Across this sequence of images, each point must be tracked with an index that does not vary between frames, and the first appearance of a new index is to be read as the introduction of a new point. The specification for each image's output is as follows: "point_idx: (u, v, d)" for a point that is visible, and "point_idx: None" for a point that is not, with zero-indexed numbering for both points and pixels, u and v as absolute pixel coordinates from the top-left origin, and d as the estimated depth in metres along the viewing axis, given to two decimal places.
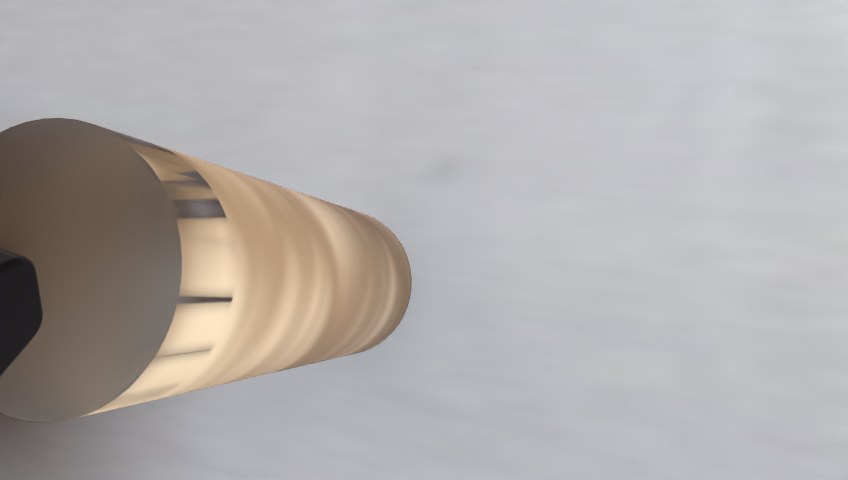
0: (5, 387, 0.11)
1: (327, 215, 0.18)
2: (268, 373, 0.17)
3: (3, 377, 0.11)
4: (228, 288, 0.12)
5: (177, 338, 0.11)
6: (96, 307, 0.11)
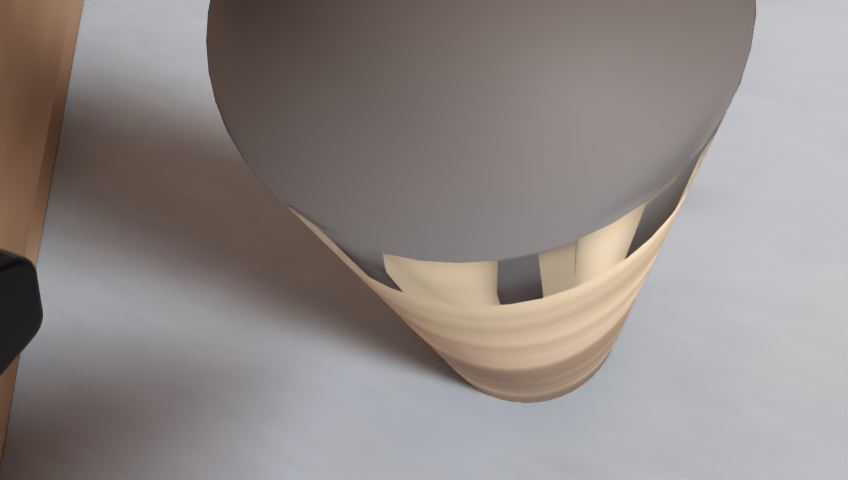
0: (342, 187, 0.06)
1: None
2: (519, 368, 0.12)
3: (344, 166, 0.06)
4: None
5: (694, 165, 0.06)
6: (564, 74, 0.06)
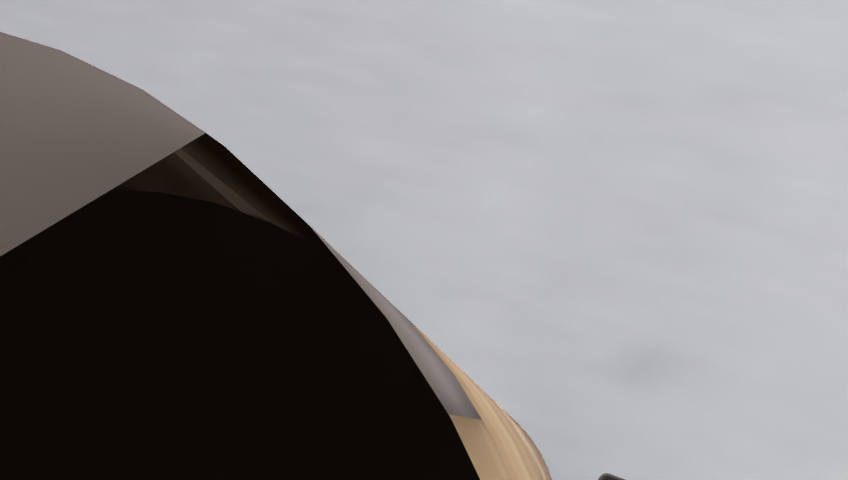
0: None
1: (528, 447, 0.09)
2: None
3: None
4: None
5: None
6: None
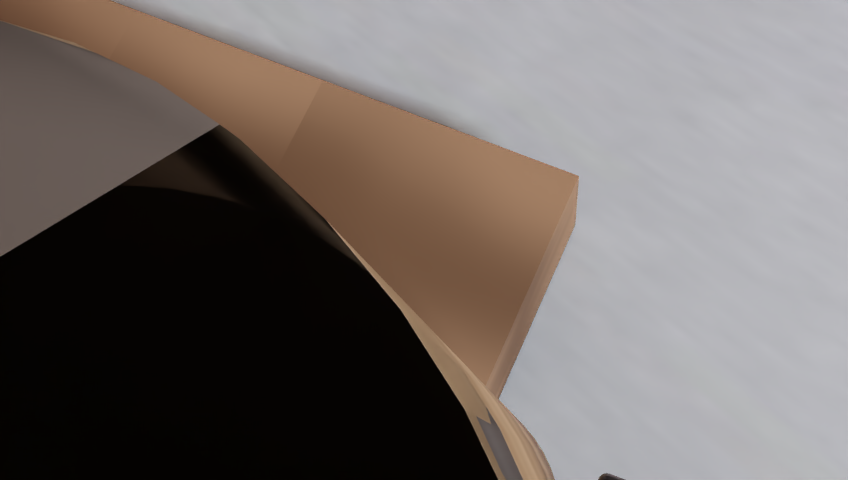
0: None
1: (532, 445, 0.09)
2: None
3: None
4: None
5: None
6: None
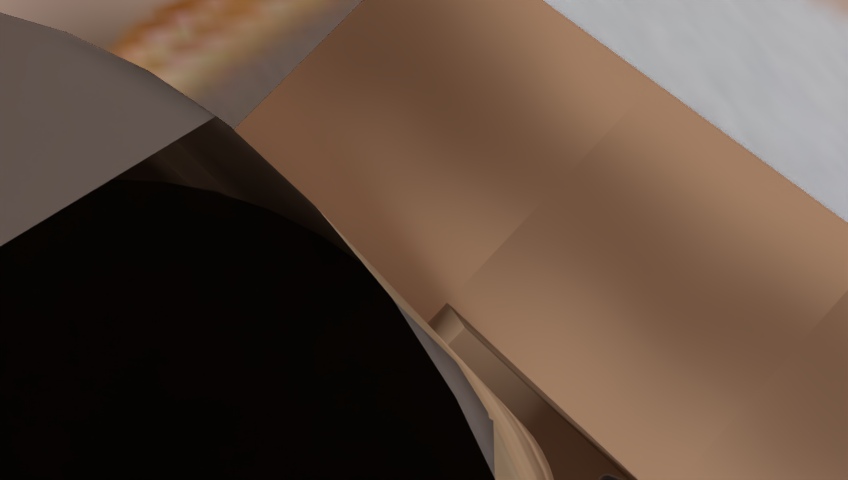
0: None
1: (530, 442, 0.09)
2: None
3: None
4: None
5: None
6: None
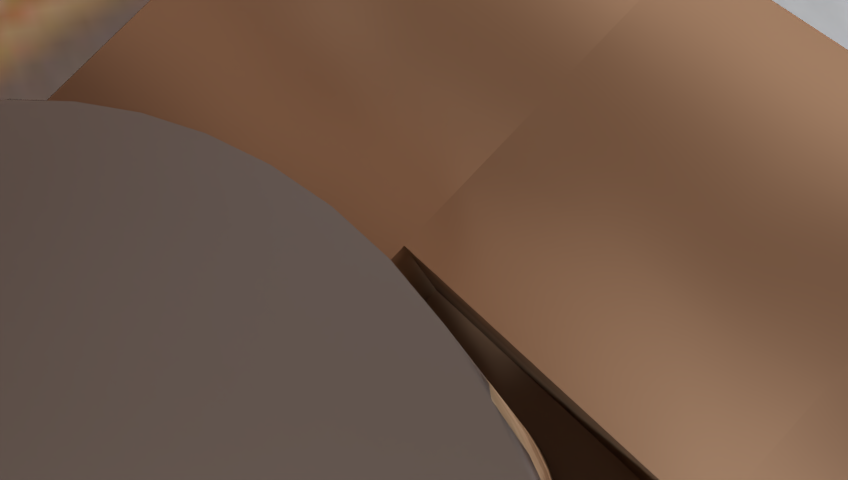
0: None
1: (534, 444, 0.09)
2: None
3: None
4: None
5: None
6: None
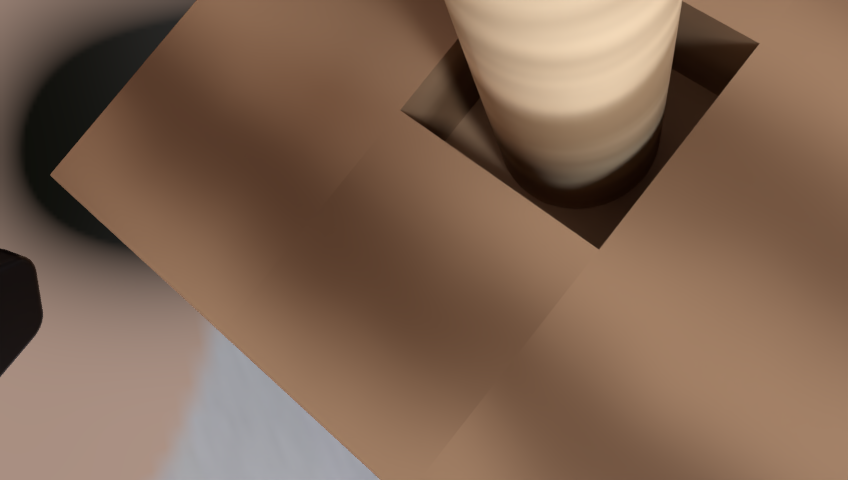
0: None
1: None
2: (584, 111, 0.15)
3: None
4: None
5: None
6: None
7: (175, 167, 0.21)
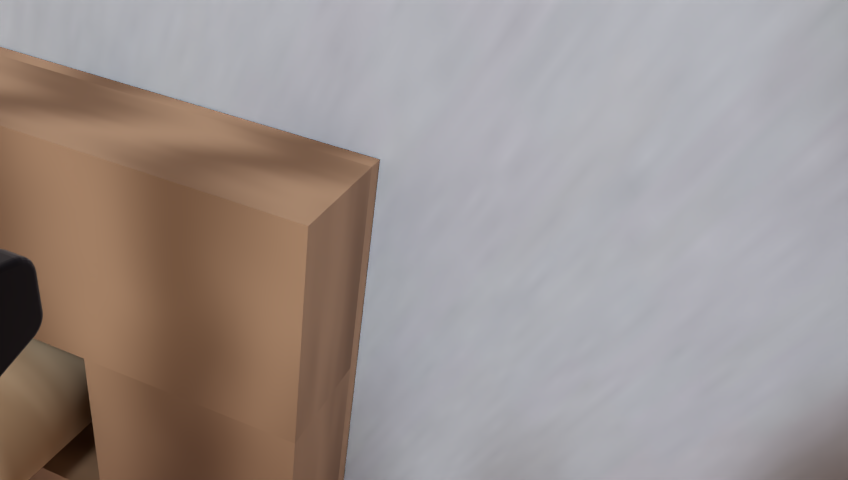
0: None
1: None
2: None
3: None
4: None
5: None
6: None
7: None
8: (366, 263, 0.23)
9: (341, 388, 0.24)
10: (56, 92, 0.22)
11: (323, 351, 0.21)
